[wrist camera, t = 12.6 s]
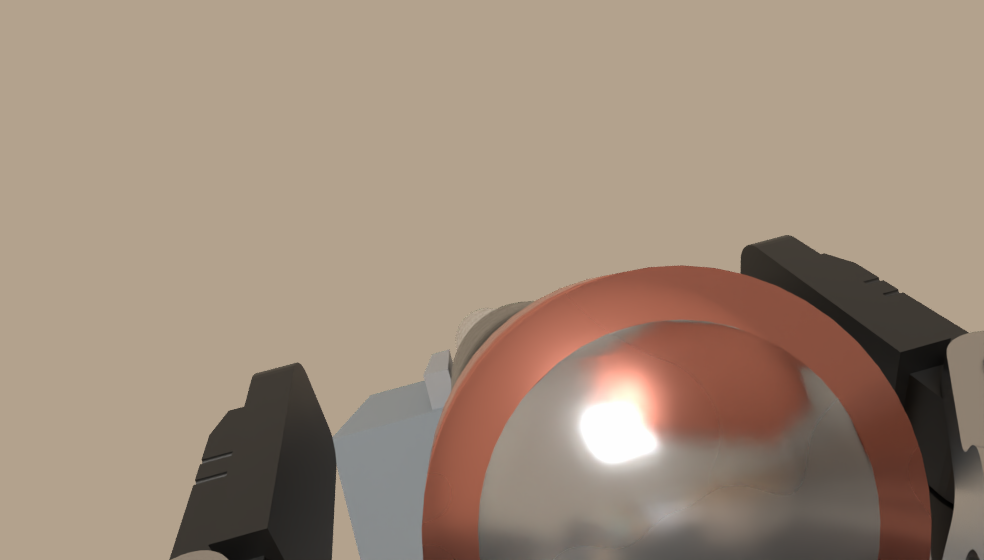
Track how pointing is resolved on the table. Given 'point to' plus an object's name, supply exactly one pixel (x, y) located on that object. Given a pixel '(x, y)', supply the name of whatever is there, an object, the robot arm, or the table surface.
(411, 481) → the tall grey box
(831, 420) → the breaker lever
